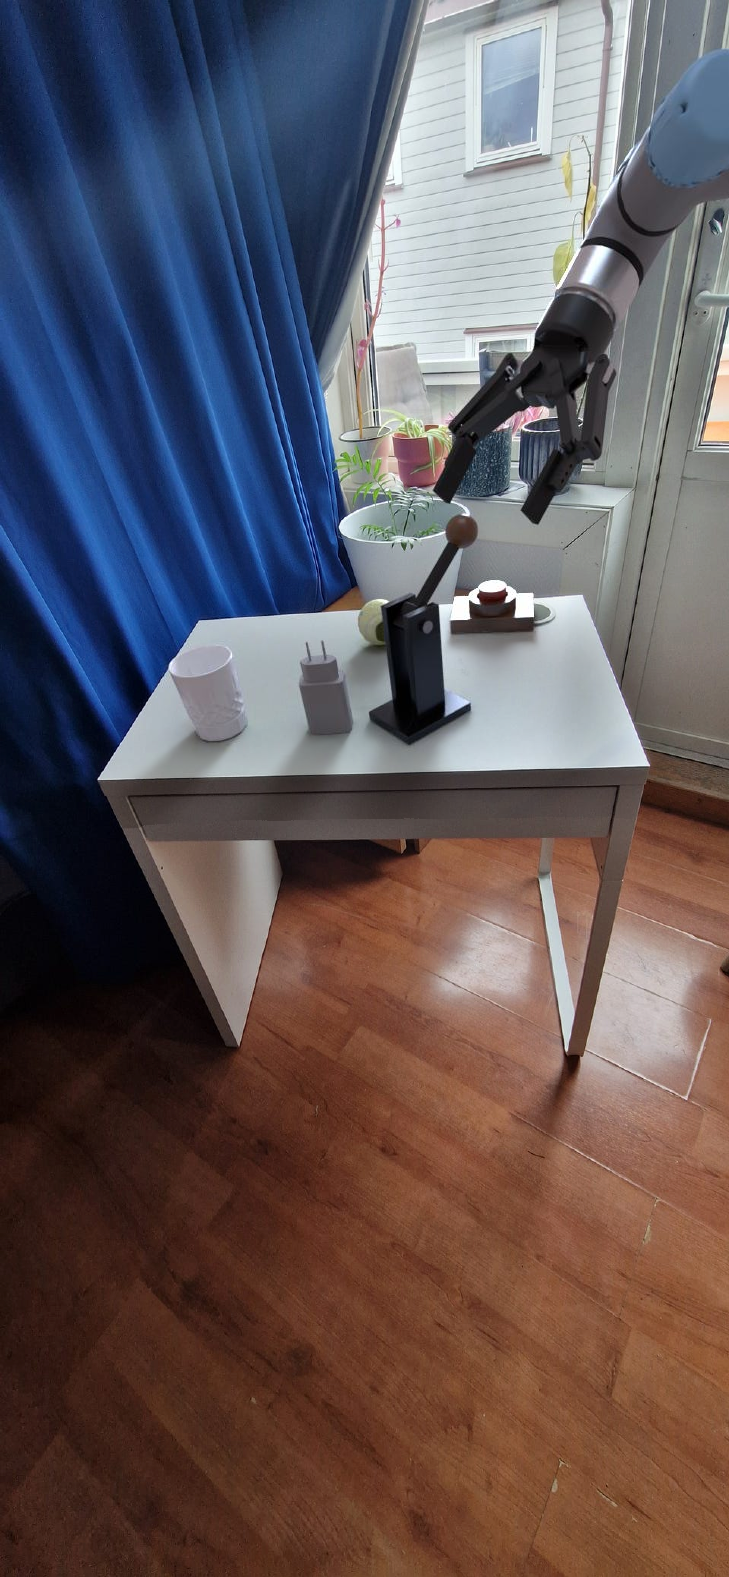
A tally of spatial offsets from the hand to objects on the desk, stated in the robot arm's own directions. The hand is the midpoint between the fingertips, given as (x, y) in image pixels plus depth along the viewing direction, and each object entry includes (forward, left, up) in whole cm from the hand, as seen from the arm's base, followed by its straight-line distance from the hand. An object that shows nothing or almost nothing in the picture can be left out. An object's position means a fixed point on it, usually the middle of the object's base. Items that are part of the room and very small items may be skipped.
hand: (482, 507), depth 72 cm
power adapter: (+19, +10, -22) cm, 31 cm away
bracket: (+8, +8, -22) cm, 25 cm away
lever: (+4, +4, -7) cm, 9 cm away
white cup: (+34, +10, -22) cm, 42 cm away
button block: (0, -18, -22) cm, 28 cm away
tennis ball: (+16, -12, -22) cm, 30 cm away
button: (0, -18, -19) cm, 26 cm away
